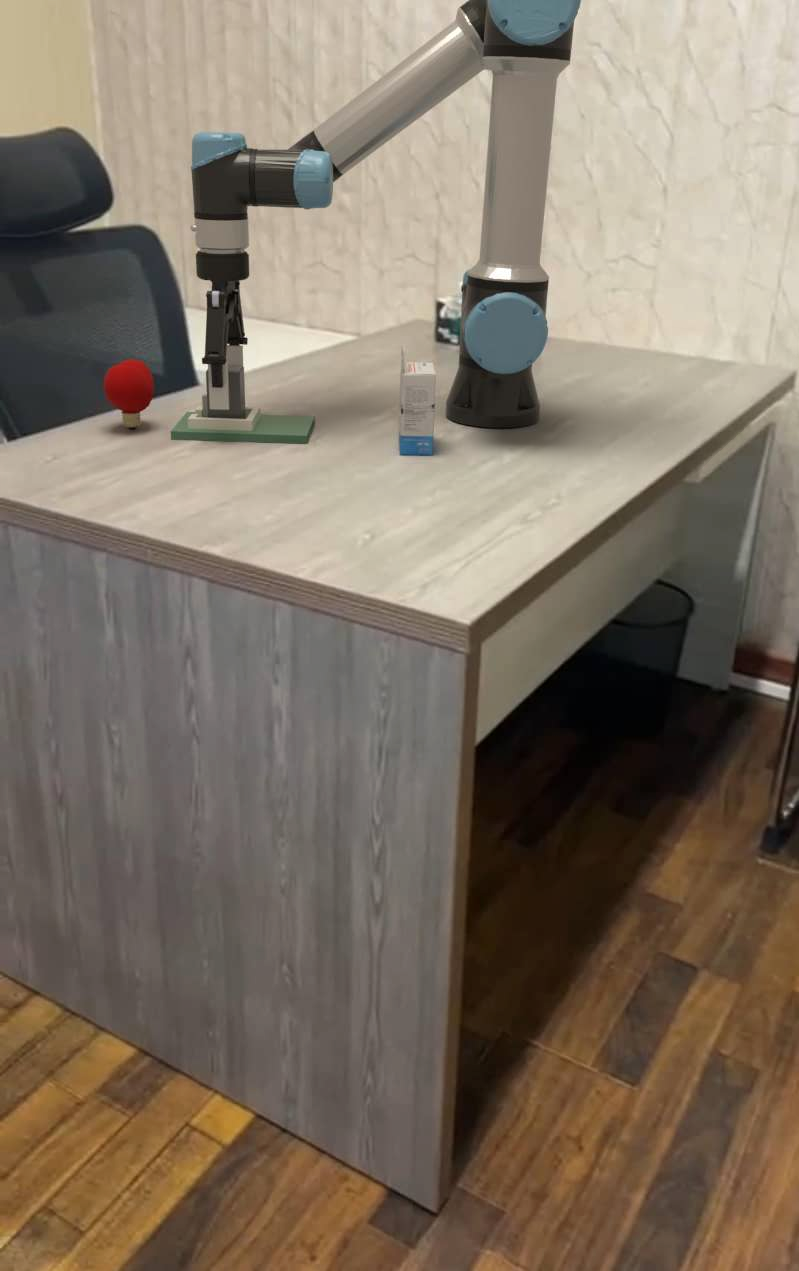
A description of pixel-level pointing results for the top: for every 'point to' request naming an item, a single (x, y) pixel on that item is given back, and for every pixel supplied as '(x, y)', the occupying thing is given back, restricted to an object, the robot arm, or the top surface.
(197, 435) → the board
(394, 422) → the top surface
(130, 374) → the light bulb
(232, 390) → the plug
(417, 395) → the ink box
